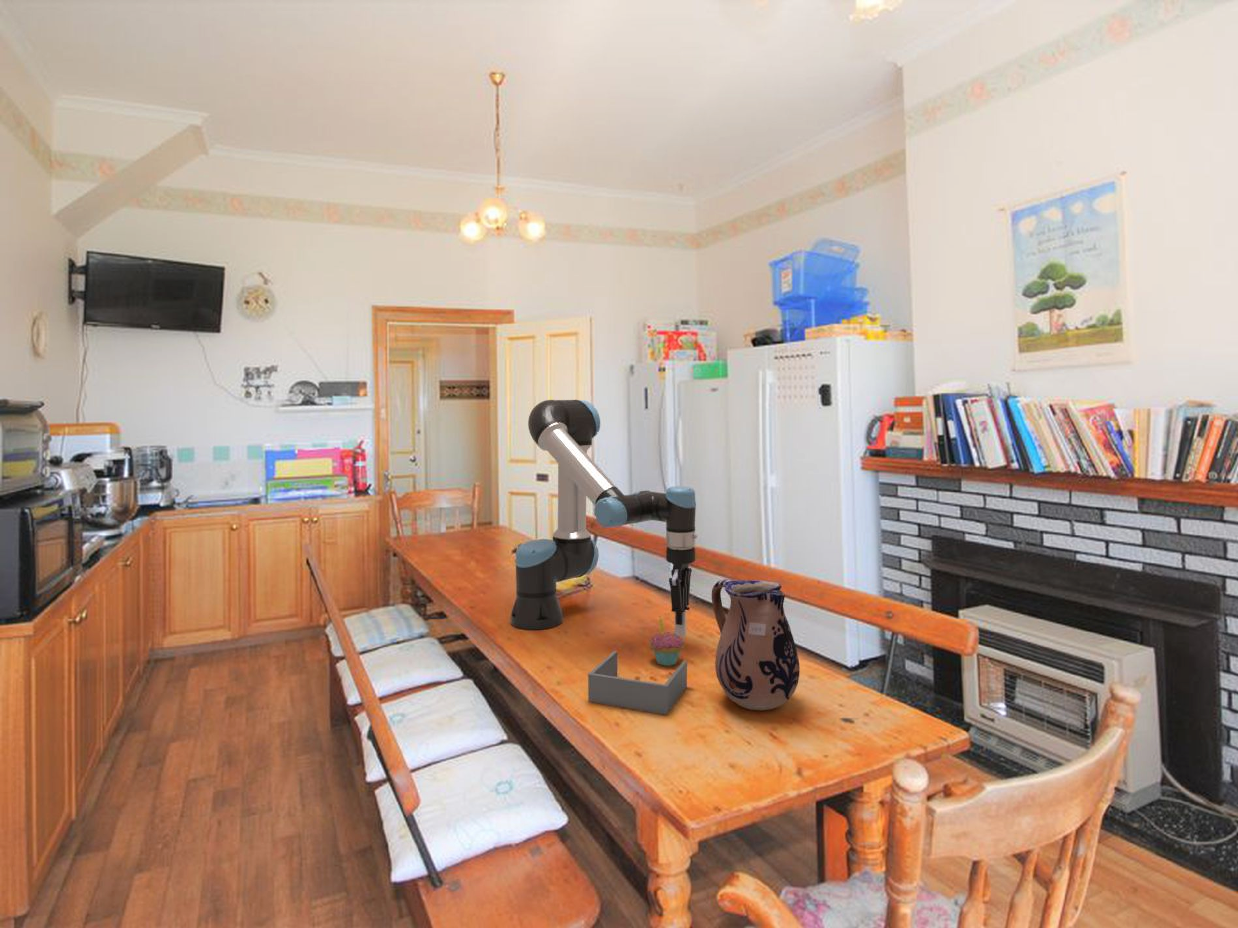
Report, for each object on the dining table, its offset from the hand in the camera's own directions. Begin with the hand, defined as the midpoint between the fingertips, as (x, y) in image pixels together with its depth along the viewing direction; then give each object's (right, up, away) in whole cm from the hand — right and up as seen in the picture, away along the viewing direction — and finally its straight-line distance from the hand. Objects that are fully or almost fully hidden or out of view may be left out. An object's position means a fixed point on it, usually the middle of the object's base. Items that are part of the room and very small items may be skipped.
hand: (680, 635), depth 177 cm
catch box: (-12, -6, -29) cm, 32 cm away
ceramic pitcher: (+12, -6, -32) cm, 35 cm away
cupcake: (-4, -4, -11) cm, 12 cm away
